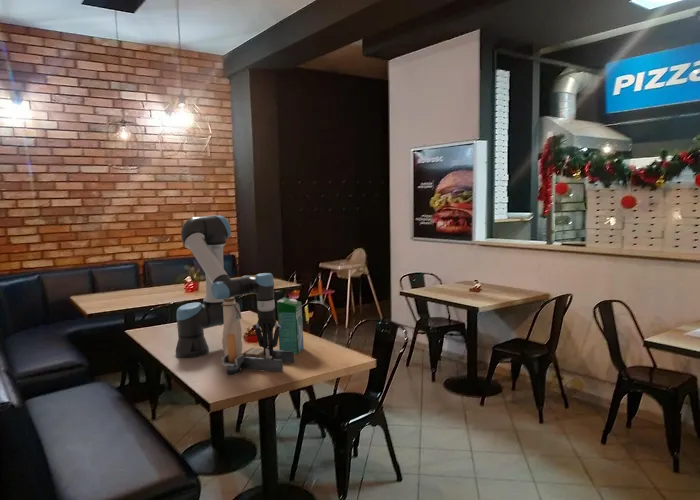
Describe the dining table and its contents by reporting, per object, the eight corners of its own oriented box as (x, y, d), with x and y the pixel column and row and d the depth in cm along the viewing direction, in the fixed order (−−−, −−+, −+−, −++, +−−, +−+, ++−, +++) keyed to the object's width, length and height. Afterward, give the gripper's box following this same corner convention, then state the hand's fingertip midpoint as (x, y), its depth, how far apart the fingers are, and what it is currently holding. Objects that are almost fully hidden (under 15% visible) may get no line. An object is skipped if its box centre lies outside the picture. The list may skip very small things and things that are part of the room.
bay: (236, 368, 223) (236, 357, 223) (252, 358, 236) (251, 348, 235) (281, 372, 217) (280, 360, 216) (294, 362, 229) (294, 351, 228)
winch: (221, 374, 217) (220, 358, 216) (230, 368, 224) (229, 352, 223) (236, 375, 214) (235, 359, 213) (246, 369, 221) (245, 353, 220)
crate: (243, 366, 225) (242, 353, 225) (252, 360, 233) (252, 347, 232) (260, 368, 223) (259, 354, 222) (268, 362, 230) (268, 348, 230)
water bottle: (249, 355, 241) (245, 296, 237) (238, 361, 232) (235, 300, 229) (229, 354, 244) (226, 295, 241) (219, 360, 236) (215, 299, 232)
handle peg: (234, 364, 216) (232, 336, 215) (227, 363, 217) (225, 336, 216) (238, 361, 219) (236, 334, 218) (231, 361, 221) (229, 333, 219)
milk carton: (298, 354, 240) (295, 301, 237) (279, 353, 242) (276, 301, 239) (303, 348, 249) (301, 297, 246) (285, 347, 250) (283, 296, 248)
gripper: (248, 310, 221) (251, 364, 224) (275, 312, 217) (278, 366, 220) (256, 306, 229) (259, 358, 231) (283, 307, 224) (286, 360, 227)
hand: (269, 362), depth 226 cm, fingers closed
